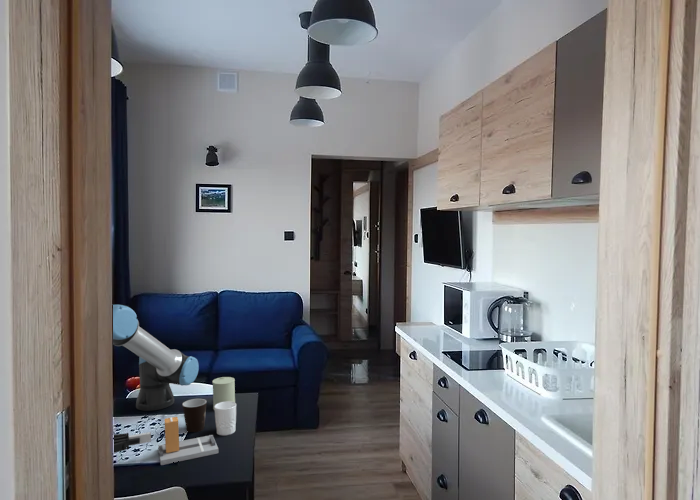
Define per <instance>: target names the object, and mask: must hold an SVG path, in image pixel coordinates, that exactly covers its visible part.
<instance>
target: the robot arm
mask: <svg viewBox="0 0 700 500" xmlns="http://www.w3.org/2000/svg"><path fill="white" fill-rule="evenodd" d="M112 305H113V344H112V345H113V346H115V347H121V346H122V347H124V348H126V349H128V350H129V351H131V352H132V353H134V354H135V355H136V356H137V357H139V358H138V359H139V360H138V361H139V362H138V368H139V369H138V373H139V391H138V395H137V398H136V401H135V402H136V403H135V408H136V409H137V410H139V411H143V412H144V411H145V412H149V411H150V412H151V411H159V410H163V409H166V408H169V407H170V406H172V405H174V403H175V396H174V393H173V390H172V388H171V386H170V385H172V384H173V385H177V386H190V385H191V384H193V382H195V380H196V379H197V376H198V374H199V369H200V368H199V365H200V364H199V361H198V359H197V358H196V357H194V356H192V355H191V356H188V355H185V354H184V353H183V352H181V351H180V350H178V349H175V348H174V349H170V348H169V347H167V346H166V345H165V344H164V343H162V342H161V341H160V340H158V339H157V338H156V337H154V336H153V335H152V334H150V333H149V332H148V331H146V330H145V329H143V328H142V327H140V322H139V320H138V319H139V318H137V317H138V316H137V314H136V312H135V310H133V309H132V308H131V307H129V306H127V305H123V304H112ZM113 435H114V453H113V454H115V453H119V452H122V451H126V450H129V449H130V446H135V445H140V444H146V443H151V442H152V431H149V432H148V431H147V432H143V433H137V434H131V435H129V432H126V433H117V434H113Z"/></svg>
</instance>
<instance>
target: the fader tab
mask: <svg viewBox="0 0 700 500" xmlns="http://www.w3.org/2000/svg"><path fill="white" fill-rule="evenodd" d="M179 425H180V424H179V419H178V416H173V417H172V416H170V417H167V418H164V442H165V443H164V444H165V448H166V453H169V452H174V451H179V441H180V435H179V434H180V430H179V428H180V427H179Z"/></svg>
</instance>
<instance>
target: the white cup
mask: <svg viewBox="0 0 700 500" xmlns="http://www.w3.org/2000/svg"><path fill="white" fill-rule="evenodd" d="M214 409H215V410H214ZM214 409H213V410H214V420H215V428H216V434H217V435H219V436H230V435H233V434H234V433H235V432H236V427H237V426H236V423H237V403H236V401H235V402H230V401H226V402H220V403H218V404H216V405H215V406H214Z"/></svg>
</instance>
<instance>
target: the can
mask: <svg viewBox="0 0 700 500" xmlns="http://www.w3.org/2000/svg"><path fill="white" fill-rule="evenodd" d="M211 381H212V401H213V402H212V404H213V405H212V410H213V411H215V409H214V406H215V405H216V404H218V403H220V402H226V401H230V402H235V403H236V393H235V392H236V390H235V387H236V386H235V385H236V384H235V381H236V380H235V378H234V377H231V376H222V377H217V378H214V379H213V380H211Z"/></svg>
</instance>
